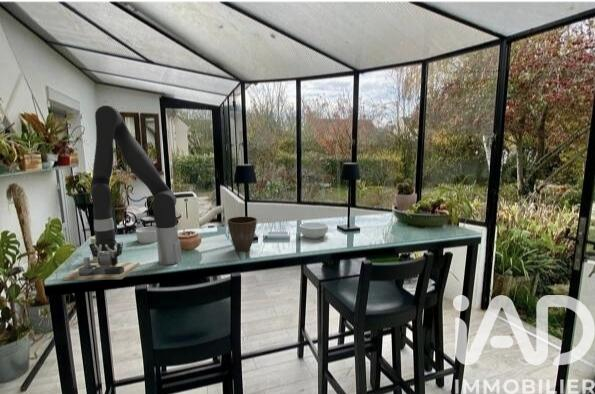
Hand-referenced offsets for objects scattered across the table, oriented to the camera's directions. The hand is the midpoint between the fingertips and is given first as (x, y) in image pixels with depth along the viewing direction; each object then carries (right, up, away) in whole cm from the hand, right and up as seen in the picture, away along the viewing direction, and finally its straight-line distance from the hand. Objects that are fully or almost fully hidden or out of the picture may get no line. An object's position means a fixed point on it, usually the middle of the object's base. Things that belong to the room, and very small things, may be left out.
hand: (108, 265), depth 145 cm
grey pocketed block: (0, 0, 0) cm, 0 cm away
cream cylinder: (-9, 0, +12) cm, 15 cm away
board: (0, -2, -4) cm, 4 cm away
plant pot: (+56, +3, +25) cm, 61 cm away
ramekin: (-1, +5, +43) cm, 43 cm away
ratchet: (+2, -2, -8) cm, 8 cm away
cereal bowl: (+94, +7, +47) cm, 105 cm away
